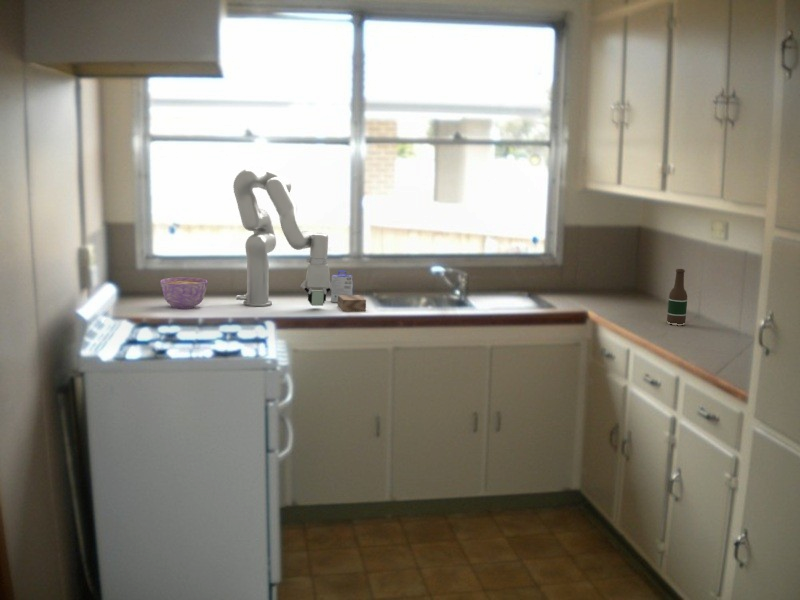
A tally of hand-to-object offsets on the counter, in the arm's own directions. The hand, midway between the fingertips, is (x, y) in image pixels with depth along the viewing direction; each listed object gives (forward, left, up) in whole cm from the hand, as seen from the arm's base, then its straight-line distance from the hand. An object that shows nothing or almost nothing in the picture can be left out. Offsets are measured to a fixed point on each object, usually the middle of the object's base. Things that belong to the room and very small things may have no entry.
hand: (316, 302), depth 396 cm
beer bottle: (+149, -47, -3) cm, 156 cm away
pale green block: (0, 0, -1) cm, 1 cm away
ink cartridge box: (+15, +18, -3) cm, 24 cm away
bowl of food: (-56, +8, -3) cm, 57 cm away
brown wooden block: (+16, 0, -3) cm, 16 cm away
